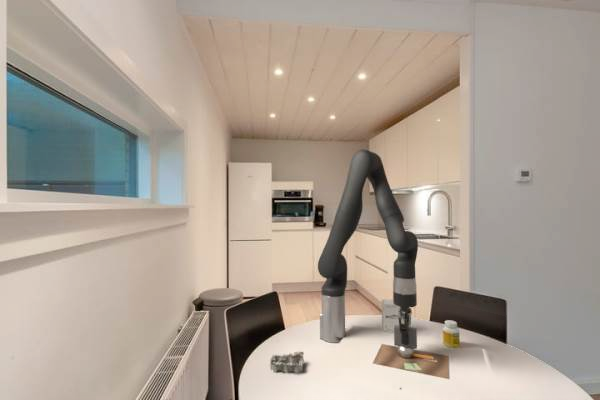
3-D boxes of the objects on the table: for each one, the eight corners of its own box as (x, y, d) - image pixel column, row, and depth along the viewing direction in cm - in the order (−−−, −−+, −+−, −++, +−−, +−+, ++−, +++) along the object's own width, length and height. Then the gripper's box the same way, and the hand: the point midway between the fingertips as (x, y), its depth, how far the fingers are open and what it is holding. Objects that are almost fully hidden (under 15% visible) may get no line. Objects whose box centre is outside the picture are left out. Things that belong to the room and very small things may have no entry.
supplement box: (384, 335, 124) (383, 303, 124) (381, 328, 131) (381, 298, 132) (403, 336, 123) (402, 304, 123) (399, 329, 130) (399, 299, 131)
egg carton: (305, 363, 101) (305, 351, 101) (301, 375, 94) (301, 362, 94) (273, 361, 103) (273, 348, 103) (267, 372, 95) (268, 359, 95)
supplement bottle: (448, 344, 115) (448, 318, 115) (462, 349, 110) (462, 322, 111) (440, 348, 112) (439, 321, 112) (454, 353, 107) (453, 325, 108)
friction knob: (393, 356, 102) (393, 328, 102) (396, 350, 106) (395, 323, 107) (433, 363, 97) (432, 334, 97) (433, 356, 101) (433, 329, 102)
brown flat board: (372, 368, 97) (372, 363, 98) (381, 348, 112) (381, 343, 112) (449, 384, 88) (449, 378, 88) (448, 360, 102) (448, 355, 103)
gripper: (396, 285, 112) (396, 333, 111) (389, 294, 99) (390, 348, 98) (418, 287, 108) (419, 336, 108) (414, 296, 96) (415, 353, 95)
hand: (405, 342), depth 103 cm, fingers closed on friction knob, 2 cm apart
